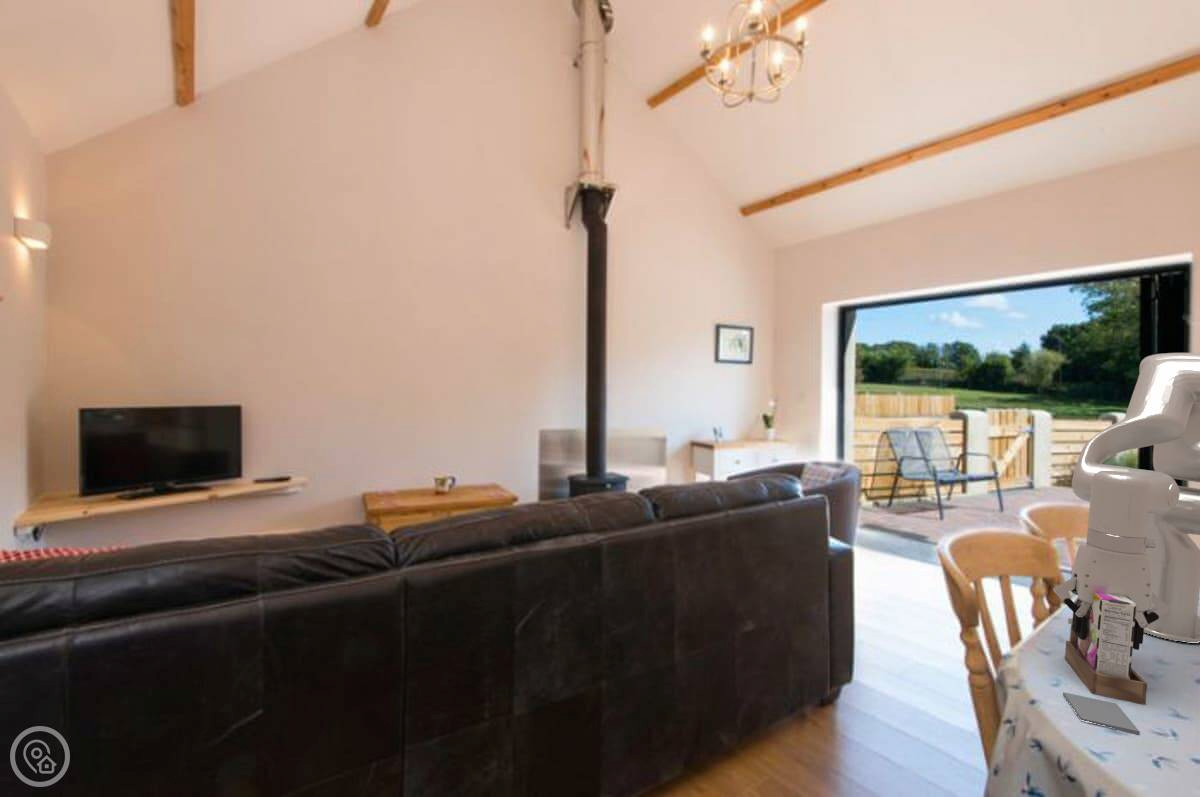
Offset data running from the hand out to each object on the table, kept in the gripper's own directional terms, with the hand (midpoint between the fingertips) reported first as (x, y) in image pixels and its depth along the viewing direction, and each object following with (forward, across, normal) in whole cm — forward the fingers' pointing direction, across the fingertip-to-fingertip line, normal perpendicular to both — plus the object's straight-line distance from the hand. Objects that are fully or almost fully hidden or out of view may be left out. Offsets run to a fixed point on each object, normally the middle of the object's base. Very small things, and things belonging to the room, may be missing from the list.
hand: (1105, 640), depth 100 cm
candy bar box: (+7, 0, 0) cm, 7 cm away
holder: (+7, 0, 0) cm, 7 cm away
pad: (+7, +5, +14) cm, 16 cm away
